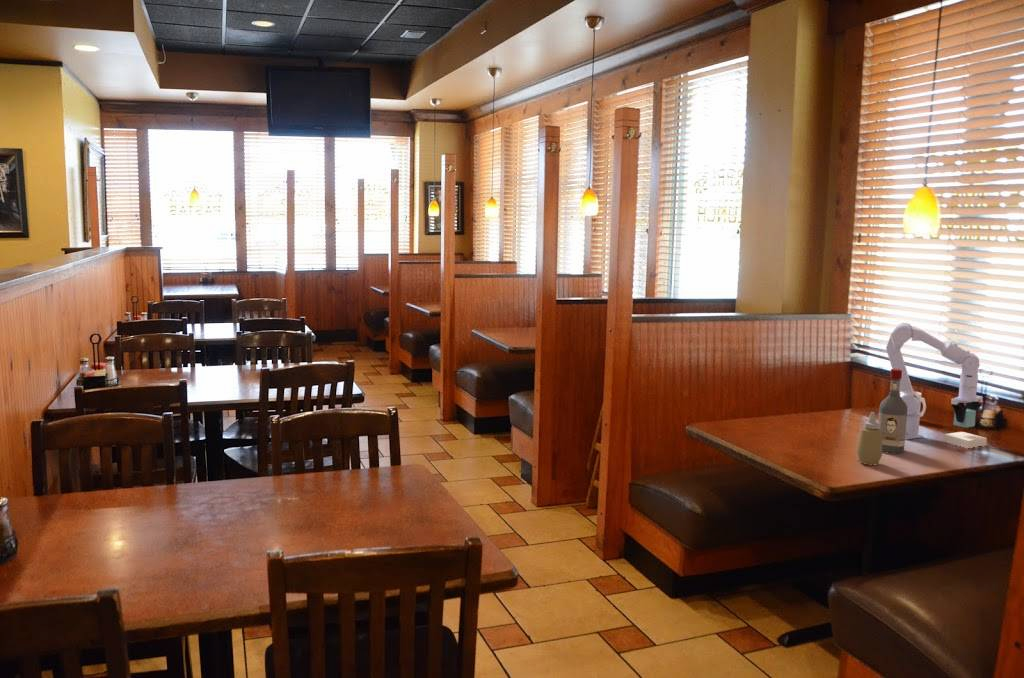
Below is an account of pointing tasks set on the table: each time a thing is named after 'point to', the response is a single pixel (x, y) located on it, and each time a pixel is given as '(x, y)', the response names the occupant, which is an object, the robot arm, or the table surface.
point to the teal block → (966, 419)
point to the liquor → (893, 417)
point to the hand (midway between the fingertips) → (964, 421)
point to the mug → (920, 403)
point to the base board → (964, 439)
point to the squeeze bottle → (870, 442)
